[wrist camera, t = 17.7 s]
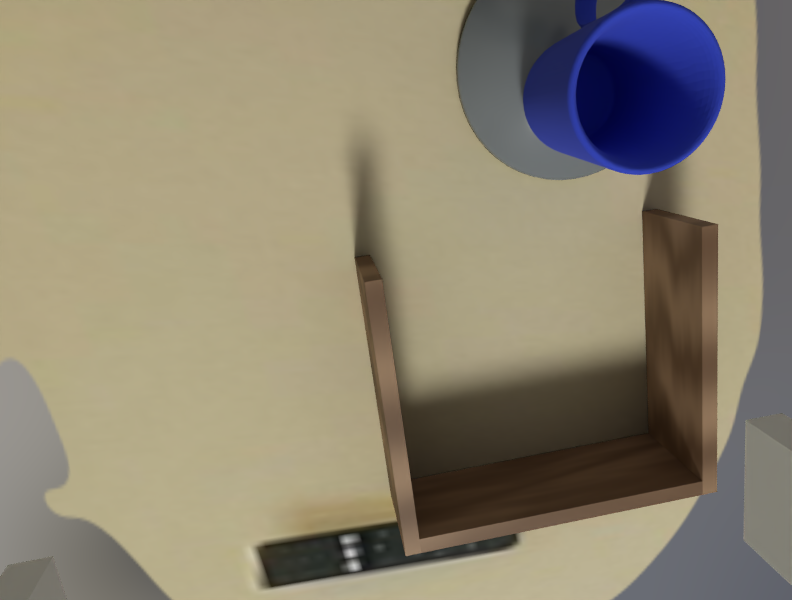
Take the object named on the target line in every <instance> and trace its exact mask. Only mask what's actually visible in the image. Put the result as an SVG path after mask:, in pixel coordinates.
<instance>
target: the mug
mask: <svg viewBox="0 0 792 600" xmlns="http://www.w3.org/2000/svg"><path fill="white" fill-rule="evenodd" d="M596 3H597V0H575V15H576V21H577V23H578V24H579V26H580V27H581V29H579V30H578V31H576V32H574V33H572V34H571V35H569V36H567V37H565V38H563V39H562V40H560V41H558V42H557V43H555V44H553V45H552V46H551V47H549V48H548V49H547V50H546V51H544V52H543V53H542V55H541V56H540V57H539V58H538V59H537V60H536V62H535V63H534V65H533V66H532V68H531V70H530V72H529V74H528V76H527V79H526V82H525V86H524V93H523V107H524V112H525V116H526V119H527V122H528V124H529V126H530V128H531V130H532V131H533V133H534V134H535V135H536V136H537V138H538V139H539V140H540V141H541V142H543V143H544V144H545V145H546V146H548V147H549V148H551V149H553V150H555V151H558V152H561V153H563V154H566V155H569V156H572V157H575V158H578V159H581V160H584V161H587V162H590V163H593V164H596V165H599V166H602V167H605V168H608V169H611V170H614V171H617V172H621V173H625V174H634V175H642V174H651V173H655V172H659V171H662V170H665V169H668V168H670V167H672V166H674V165H676V164H677V163H679V162H681V161H682V160H684V159H685V158H686V157H688V156H689V155H690V154H691V153H693V152H694V151H695V150H696V149H697V148H698V147H699V145H700V144H701V143H702V142H703V141H704V139H705V138H706V137H707V135H708V134H709V132H710V131H711V129H712V127H713V125H714V123H715V121H716V119H717V117H718V114H719V112H720V109H721V105H722V101H723V97H724V91H725V67H724V60H723V56H722V52H721V49H720V47H719V44H718V42H717V40H716V38H715V36H714V34H713V33H712V31H711V30H710V28H709V27H708V26H707V24H706V23H705V22H704V21H703V20H702V19H701V18H700V17H699V16H698V15H696V14H695V13H694V12H692V11H691V10H689V9H687V8H685V7H684V6H681V5H679V4H676V3H673V2H668V1H663V0H625V1H624V2H623V3H622V4H621V5H620V6H619V7H618V8H616V9H614V10H613V11H611V12H610V13H608V14H606V15H604V16H602V17H600V18H598V19H596Z"/></svg>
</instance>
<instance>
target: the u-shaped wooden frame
mask: <svg viewBox="0 0 792 600" xmlns="http://www.w3.org/2000/svg"><path fill="white" fill-rule="evenodd" d="M642 217H643V253H644V288H645V324H646V360H647V396H648V432H649V433H646V434H641V435H636V436H631V437H626V438H621V439H616V440H610V441H605V442H600V443H595V444H590V445H585V446H580V447H575V448H569V449H564V450H559V451H554V452H549V453H544V454H539V455H534V456H528V457H523V458H518V459H513V460H508V461H503V462H498V463H493V464H488V465H482V466H477V467H472V468H467V469H462V470H457V471H452V472H447V473H441V474H436V475H431V476H426V477H421V478H416V479H411V477H410V470H409V463H408V456H407V449H406V442H405V435H404V428H403V421H402V414H401V407H400V400H399V393H398V386H397V379H396V372H395V365H394V358H393V351H392V344H391V338H390V331H389V324H388V317H387V310H386V303H385V296H384V289H383V282H382V278H381V276H380V274H379V272H378V270H377V268H376V266H375V265H374V263H373V261H372V259H371V257H370V255H366V256H360V257H355V264H356V270H357V277H358V283H359V290H360V296H361V303H362V309H363V316H364V322H365V329H366V335H367V341H368V348H369V354H370V361H371V367H372V374H373V380H374V387H375V393H376V400H377V406H378V413H379V419H380V426H381V432H382V439H383V445H384V452H385V458H386V465H387V471H388V478H389V484H390V491H391V497H392V501H393V505H394V509H395V513H396V517H397V521H398V526H399V530H400V534H401V538H402V542H403V546H404V550H405V555H406V556H408V555H413V554H418V553H423V552H428V551H433V550H437V549H442V548H447V547H452V546H457V545H462V544H467V543H471V542H476V541H481V540H486V539H491V538H496V537H500V536H505V535H510V534H515V533H520V532H525V531H529V530H534V529H539V528H544V527H549V526H554V525H558V524H563V523H568V522H573V521H578V520H583V519H587V518H592V517H597V516H602V515H607V514H612V513H616V512H621V511H626V510H631V509H636V508H641V507H645V506H650V505H655V504H660V503H665V502H670V501H674V500H679V499H684V498H689V497H694V496H699V495H703V494H708V493H713V492H717V332H718V224H715V223H711V222H707V221H703V220H699V219H695V218H690V217H686V216H682V215H678V214H674V213H670V212H666V211H662V210H658V209H653V210H647V211H642Z"/></svg>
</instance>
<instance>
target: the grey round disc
mask: <svg viewBox="0 0 792 600" xmlns="http://www.w3.org/2000/svg"><path fill="white" fill-rule="evenodd" d="M624 1H625V0H597V3H596V19H598V18H600V17H602V16H604V15H606V14H608V13H610V12H611V11H613V10H614V9H616V8H618V7H619V6H620V5H621V4H622V3H623V2H624ZM579 29H581V27H580V26H579V24H578V23H577V21H576V15H575V0H476V2H475V3H474V5H473V6H472V8H471V11H470V13H469V15H468V17H467V19H466V21H465V24H464V27H463V30H462V33H461V37H460V41H459V46H458V51H457V64H456V73H457V86H458V92H459V98H460V101H461V105H462V108H463V111H464V114H465V116H466V118H467V121H468V123H469V125H470V127H471V128H472V130H473V132H474V133H475V135H476V137H477V138H478V139H479V141H480V142H481V143H482V144H483V145H484V147H485V148H486V149H487V150H488V151H489V152H490V153H491V154H492V155H493V156H494V157H496V158H497V159H498V160H500V161H501V162H503V163H504V164H505V165H507V166H509V167H511V168H513V169H515V170H516V171H518V172H521V173H524V174H527V175H530V176H533V177H538V178H543V179H552V180H566V179H575V178H580V177H584V176H588V175H591V174H593V173H596V172H599V171H601V170H603V169H605V167H602V166H599V165H596V164H593V163H590V162H587V161H584V160H581V159H578V158H575V157H572V156H569V155H566V154H563V153H561V152H558V151H555V150H553V149H551V148H549V147H548V146H546V145H545V144H544V143H543V142H541V141H540V140H539V139H538V138H537V136H536V135H535V134H534V133H533V131H532V130H531V128H530V126H529V124H528V122H527V119H526V116H525V112H524V107H523V93H524V86H525V82H526V79H527V76H528V74H529V72H530V70H531V68H532V66H533V65H534V63H535V62H536V60H537V59H538V58H539V57H540V56H541V55H542V53H543V52H544V51H546V50H547V49H548V48H549V47H551V46H552V45H553V44H555V43H557V42H558V41H560V40H562V39H563V38H565V37H567V36H569V35H571V34H572V33H574V32H576V31H578V30H579Z"/></svg>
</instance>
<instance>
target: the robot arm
mask: <svg viewBox="0 0 792 600" xmlns="http://www.w3.org/2000/svg"><path fill="white" fill-rule="evenodd" d="M745 436H746V437H745V489H744V541H745V542H746V543H747V544H749V546H750V547H751V548H753V549H754V550H755V551H756V552H757V553H758V554H759V555H760V556H761V557H762V558H763V559H764V560H765V561H766V562H767V563H769V565H771V566H772V567H773V568H774V569H775V570H776V571H777V572H778V573H779V574H780V575H781V576H782V577H783V578H784V579H785V580H786V581H788V582H789V583H790V584H791V585H792V419H791V418H789V417H787V416H785V415H784V414H782V413H780V414H775V415H770V416H765V417H760V418H755V419H750V420H746V435H745ZM0 600H67V598H66V595H65V591H64V588H63V585H62V582H61V579H60V576H59V573H58V570H57V567H56V564H55V561H54V558H53V556H52V557H47V558H42V559H37V560H32V561H26V562H22V563H16V564H11V565H8V566H7V567H6V569H5V570H4V572H3V573H2V575H1V576H0Z"/></svg>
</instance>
